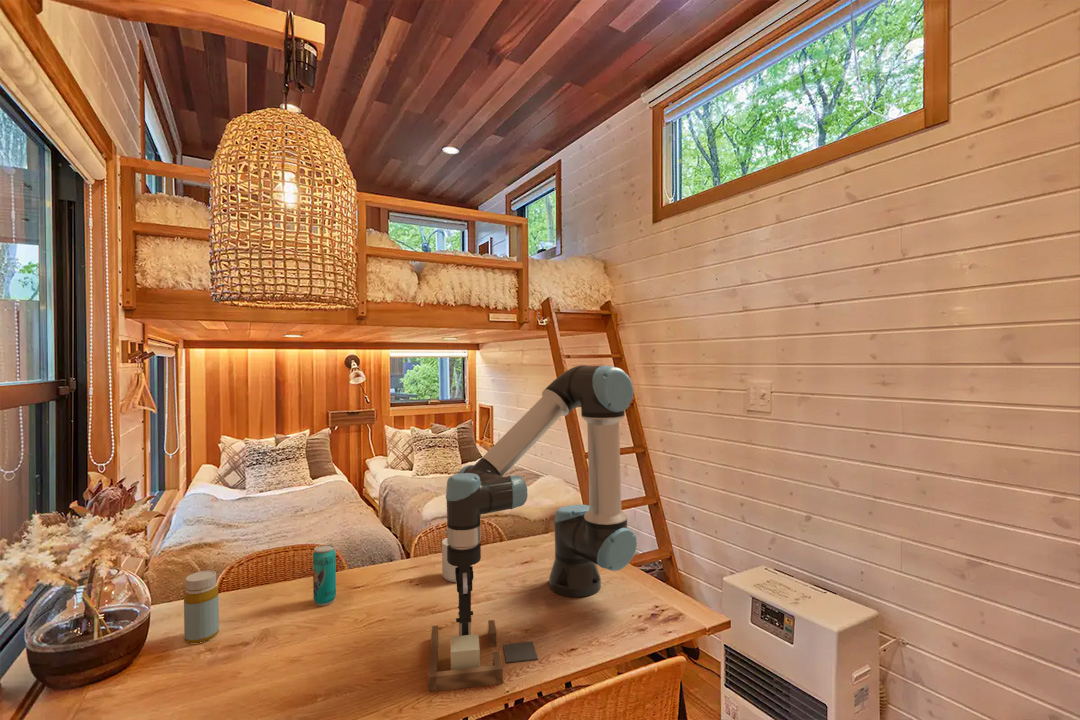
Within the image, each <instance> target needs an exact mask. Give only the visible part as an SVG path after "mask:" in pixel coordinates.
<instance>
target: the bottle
mask: <svg viewBox="0 0 1080 720" xmlns="http://www.w3.org/2000/svg"><path fill="white" fill-rule="evenodd" d="M219 599H220V596H219V589H218V587H217V572H216V571H214V570H202V571H197V572H194V573H192V574H189V575H188V576H186V577H185V594H184V596H183V621H184V622H183V624H184V626H183V627H184V629H183V630H184V631H183V632H184V633H183V634H184V641H185V642H186V643H187V644H189V643H200V642H204V641H206V642H208V641H207V640H209V639H211V638H213V637H214V636H215V635H216V636H217V635H218V634H219V632H220V616H219V615H220V608H219V605H220V604H219V603H220V602H219ZM216 636H215V637H216ZM215 637H214V638H215ZM214 638H213V639H214ZM211 640H212V639H211ZM209 641H210V640H209ZM204 643H205V642H204ZM200 644H201V643H200Z"/></svg>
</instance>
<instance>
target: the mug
mask: <svg viewBox="0 0 1080 720" xmlns="http://www.w3.org/2000/svg"><path fill="white" fill-rule="evenodd" d="M448 545H449V544H448V543H447V537H446V538H444V539H442V541H441V561H442V563H441V570H442V573H441V574H442V577H443V578H444V579H445V580H446V581H447V582H451V583H457V581H456V575H455V568H456V567H457V566H453V565H451V564H449V563H448V561H447V546H448ZM471 566H473V565H471Z"/></svg>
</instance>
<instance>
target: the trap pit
mask: <svg viewBox="0 0 1080 720" xmlns="http://www.w3.org/2000/svg"><path fill="white" fill-rule="evenodd" d="M502 647H503V651H504V652H503V653H504V656H505V662H506V664H511V663H520V662H522V663H523V662H527V661H528V662H530V661H538V659H539V658H538V655H537V652H536V648H535V645H534V641H533V640H531V641H523V642H521V641H520V642H512V643H504V644H503V645H502Z"/></svg>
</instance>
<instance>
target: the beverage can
mask: <svg viewBox="0 0 1080 720" xmlns="http://www.w3.org/2000/svg"><path fill="white" fill-rule="evenodd" d="M336 552H337V551H336V550H335V545H333V544H332V545H331V544H323V545H318V546H316V547H315V548H314V549H313V553H312V585H313V586H312V587H313V591H312V593H313V594H312V595H313V596H312V597H313V601H314V603H315V604H316V606H318V607H319V606H320V607H326V606H329V605H331V604H332V603H334V601H335V599H336V596H337V581H336V580H337V579H336V578H337V574H336V573H337V571H336V570H337V569H336V568H337V566H336V565H337V563H336V562H337V561H336V560H337V559H336V556H337V555H336Z"/></svg>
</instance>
